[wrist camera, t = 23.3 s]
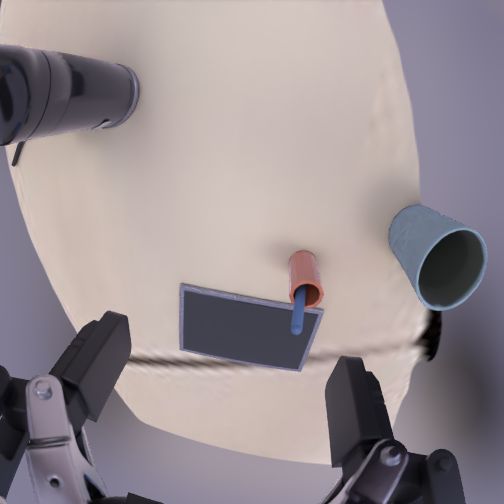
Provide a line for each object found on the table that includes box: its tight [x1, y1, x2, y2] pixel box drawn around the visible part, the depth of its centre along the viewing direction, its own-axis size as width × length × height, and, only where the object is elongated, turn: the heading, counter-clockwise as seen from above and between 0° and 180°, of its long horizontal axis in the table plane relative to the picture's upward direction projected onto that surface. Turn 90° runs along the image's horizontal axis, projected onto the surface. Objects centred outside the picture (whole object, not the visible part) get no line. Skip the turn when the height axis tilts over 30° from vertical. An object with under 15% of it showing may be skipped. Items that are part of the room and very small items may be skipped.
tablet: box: [180, 284, 324, 372], centre depth 46 cm, size 22×14×1 cm, turn 82°
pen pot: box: [288, 251, 324, 309], centre depth 36 cm, size 4×4×8 cm
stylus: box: [291, 284, 306, 335], centre depth 34 cm, size 1×1×13 cm
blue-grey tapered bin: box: [389, 205, 487, 310], centre depth 31 cm, size 10×10×12 cm
